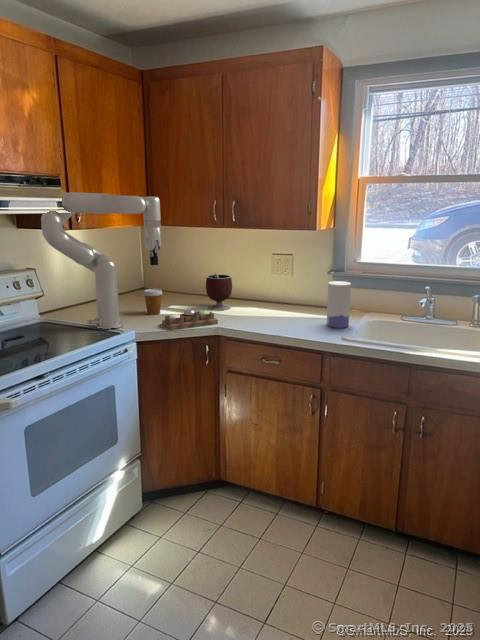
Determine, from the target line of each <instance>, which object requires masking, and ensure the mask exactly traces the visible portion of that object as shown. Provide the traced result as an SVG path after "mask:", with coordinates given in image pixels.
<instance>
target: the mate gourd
mask: <svg viewBox="0 0 480 640" xmlns="http://www.w3.org/2000/svg"><path fill="white" fill-rule="evenodd" d="M232 291H233V280H232V275H229V274H218V273H214V274H209V275H207V276H206V281H205V292H206V296H208V298H209V300H212V301H214V302H216V303H215V304H211V305H208V306H207V309H208V311H214V312H223V311H229V310H230V309H231V308H232V306H231V305H229V304H223V301H226V300H229V298H230V297H231V295H232Z"/></svg>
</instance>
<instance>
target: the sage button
mask: <svg viewBox="0 0 480 640" xmlns="http://www.w3.org/2000/svg"><path fill="white" fill-rule="evenodd" d="M198 312H199V314H201V315H204V314H210V312H211V310H200V311H198Z"/></svg>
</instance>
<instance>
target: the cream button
mask: <svg viewBox="0 0 480 640" xmlns="http://www.w3.org/2000/svg"><path fill="white" fill-rule="evenodd" d="M178 314H179V313H178ZM178 314H176V313H174V314H169V318H171V319H172V318H180V314H179V315H178Z"/></svg>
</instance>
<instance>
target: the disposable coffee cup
mask: <svg viewBox="0 0 480 640" xmlns="http://www.w3.org/2000/svg"><path fill="white" fill-rule="evenodd" d="M142 294H143V296H144V301H145V305H146V312H147V315H150V316H154V315H155V316H156V315H160V314H161V308H162V305H161V304H162V295H163V290H162V289H161V288H148V289H147V288H146V289H145V290H144V291H143V293H142Z"/></svg>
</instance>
